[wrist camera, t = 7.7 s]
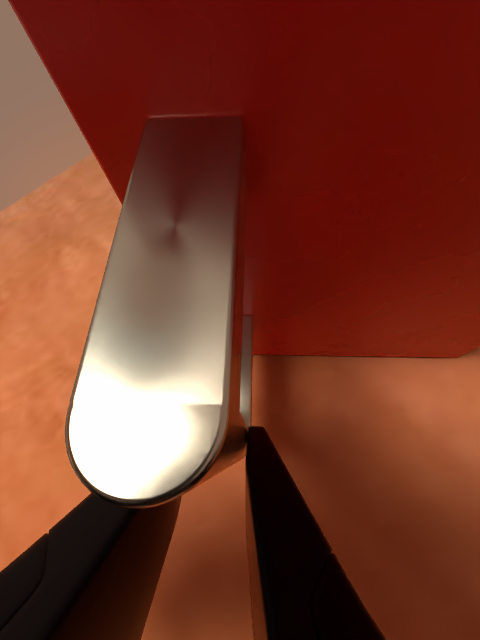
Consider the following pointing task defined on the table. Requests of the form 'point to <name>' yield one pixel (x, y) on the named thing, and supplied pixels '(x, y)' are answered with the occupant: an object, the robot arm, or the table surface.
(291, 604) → the robot arm
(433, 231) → the door
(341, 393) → the table surface
